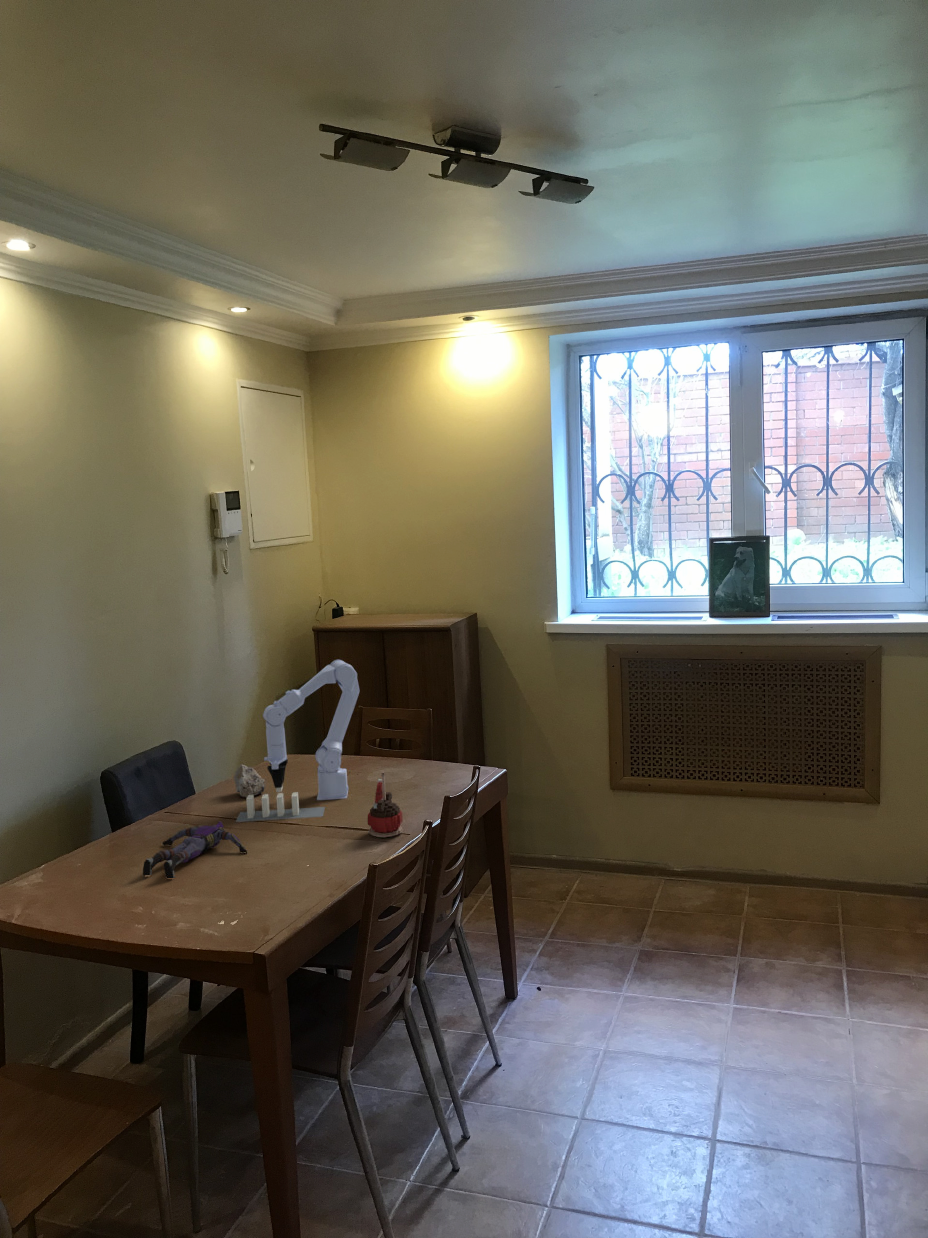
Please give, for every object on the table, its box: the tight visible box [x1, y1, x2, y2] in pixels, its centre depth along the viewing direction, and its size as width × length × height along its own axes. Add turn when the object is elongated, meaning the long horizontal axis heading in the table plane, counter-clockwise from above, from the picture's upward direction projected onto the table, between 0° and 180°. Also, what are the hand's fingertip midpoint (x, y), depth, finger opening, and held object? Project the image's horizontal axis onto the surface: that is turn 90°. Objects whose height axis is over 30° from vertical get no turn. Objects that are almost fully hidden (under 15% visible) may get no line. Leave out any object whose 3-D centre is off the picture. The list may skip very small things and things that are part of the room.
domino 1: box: [246, 795, 256, 818], centre depth 293 cm, size 2×4×6 cm, turn 4°
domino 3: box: [275, 783, 284, 793], centre depth 303 cm, size 2×4×6 cm, turn 5°
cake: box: [367, 771, 404, 838], centre depth 273 cm, size 11×9×18 cm
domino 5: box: [291, 791, 300, 816], centre depth 294 cm, size 2×4×6 cm, turn 5°
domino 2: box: [261, 793, 270, 817], centre depth 293 cm, size 2×4×6 cm, turn 4°
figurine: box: [142, 821, 248, 879], centre depth 261 cm, size 27×6×30 cm
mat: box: [235, 806, 326, 823], centre depth 294 cm, size 26×9×1 cm, turn 94°
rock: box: [234, 764, 266, 799], centre depth 314 cm, size 9×12×10 cm
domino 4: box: [276, 792, 285, 817], centre depth 293 cm, size 2×4×6 cm, turn 5°
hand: (279, 785), depth 304 cm, fingers closed on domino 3, 4 cm apart
